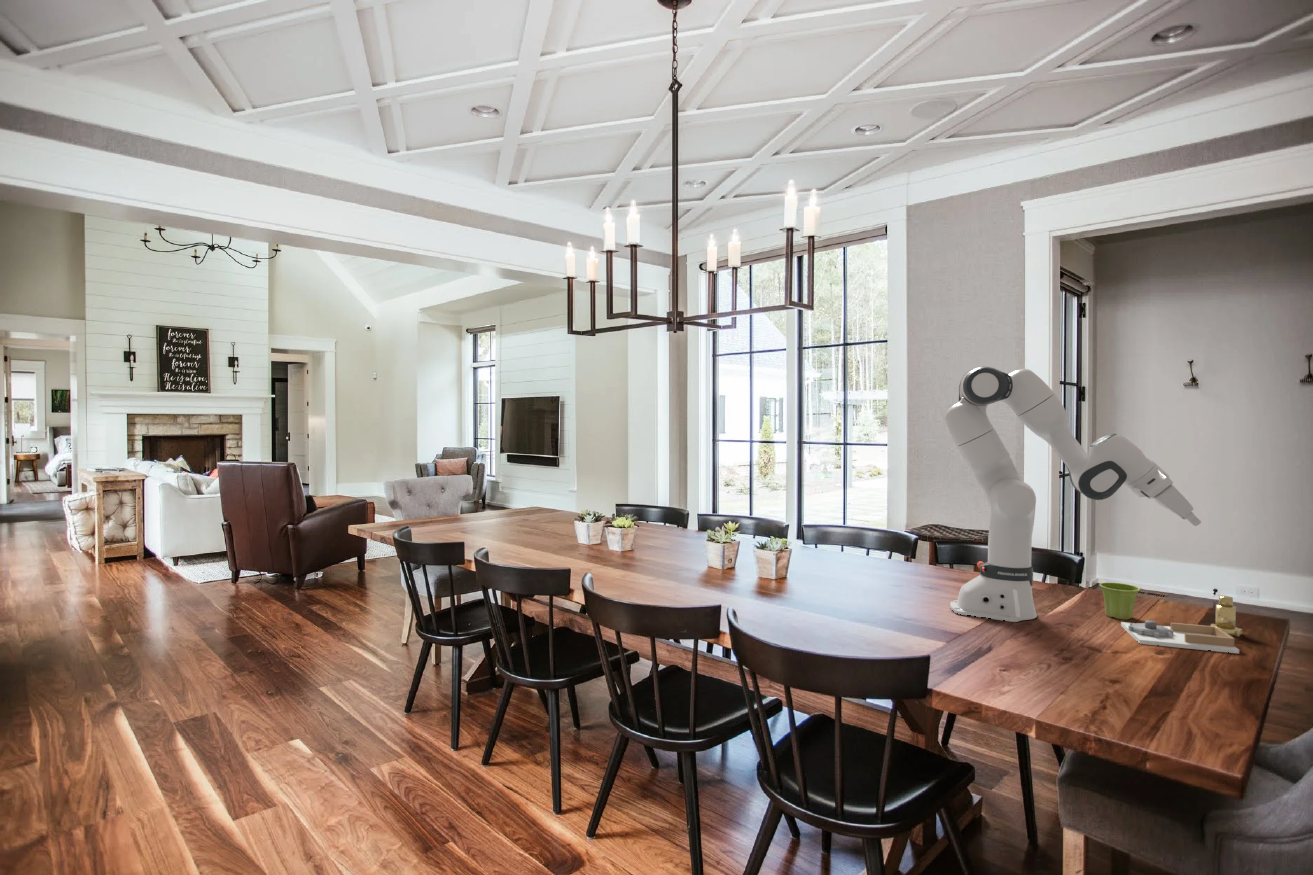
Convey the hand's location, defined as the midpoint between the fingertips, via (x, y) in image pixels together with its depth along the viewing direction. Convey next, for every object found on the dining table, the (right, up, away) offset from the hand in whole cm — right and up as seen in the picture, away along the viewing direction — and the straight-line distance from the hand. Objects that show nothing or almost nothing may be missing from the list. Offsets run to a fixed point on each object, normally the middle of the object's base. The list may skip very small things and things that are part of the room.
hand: (1192, 520), depth 179 cm
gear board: (-9, -29, -6) cm, 31 cm away
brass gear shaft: (+8, -29, 0) cm, 30 cm away
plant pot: (-10, -29, +14) cm, 34 cm away
